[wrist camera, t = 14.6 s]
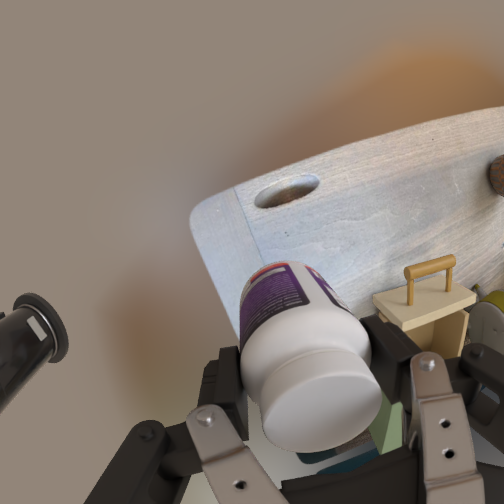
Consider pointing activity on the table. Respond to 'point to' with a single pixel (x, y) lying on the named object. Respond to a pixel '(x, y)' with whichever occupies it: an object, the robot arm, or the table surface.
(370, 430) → the cabinet
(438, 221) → the table surface
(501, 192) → the vase
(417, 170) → the table surface
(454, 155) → the table surface
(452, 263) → the drawer
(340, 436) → the pill bottle
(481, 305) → the alarm clock
